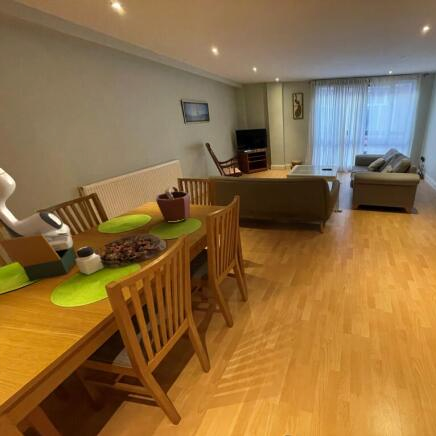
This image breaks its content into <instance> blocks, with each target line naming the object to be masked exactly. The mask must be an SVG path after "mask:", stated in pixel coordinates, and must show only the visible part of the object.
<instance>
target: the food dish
mask: <svg viewBox="0 0 436 436" xmlns="http://www.w3.org/2000/svg"><path fill="white" fill-rule="evenodd" d="M103 247H105V249H104V251H103V252H102V253H101V254H99V252H100V250H102V249H103V248H102V247H101V246H100V247H98V248H99V249H98V248H97V249H96V250H94V253H95V254H96V255H99V256H100V258H101V261H100V262H102V264H103V267H104V268H109V267H110V268H119V267H126V266H130V265H132V264H134V263H141V262H144V261H146V260H150V259H152V258H155V257H156V256H158V254H159V253H161V252H163V251H164V250H165V249H166V248H167V243H166V241H165V240H164V239H163V238H161V237H160V236H159V235H156V234H152V233H151V234H150V233H142V234H135V235H134V234H133V235H130V236H126V237H125V236H124V237H121V238H119V239H115V240H113V241H110V242H107V244H104V245H103Z"/></svg>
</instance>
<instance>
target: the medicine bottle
mask: <svg viewBox="0 0 436 436" xmlns="http://www.w3.org/2000/svg"><path fill="white" fill-rule="evenodd" d="M94 252H95V250H94V248H93V247H92V246H84V247H80V248H79V249H77V251H76V255H77V258H78V259H76V262H75V263H76V265H77V268H78V270H79V272H80V273H83V274H85V275H91V274H93V273H96V272H98V271H100V270H102V269H104V268H105V267H104V266H103V264H102V262H100V261H101V258H100V256H99V255H100V254H98V255H96V254H95V253H94Z"/></svg>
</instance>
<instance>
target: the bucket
mask: <svg viewBox="0 0 436 436" xmlns="http://www.w3.org/2000/svg"><path fill="white" fill-rule="evenodd" d="M172 189H173V191H171V190H172ZM155 200H156V204H157V207H158V209H159V211H160V213H161V215H162V217H163V219H164V221H165V223H168V224H169V223H170V224H178V223H177V222H175V223H174V222H168V221H177V220H182V219H186V218H187V217H188V218H187V219H186V221H187V220H188V219H189V218H190V216H191V215H190V214H191V193H189V192H187V191H183V190H182V191H181V190H180V191H179V188H178V187H177V186H175V185H170V186H168V187H166V189H165V190H164V193H160V194H157V195H156V197H155Z"/></svg>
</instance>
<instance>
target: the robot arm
mask: <svg viewBox="0 0 436 436" xmlns="http://www.w3.org/2000/svg"><path fill="white" fill-rule="evenodd" d="M16 187H17V185H16V181H15V180H14V179H13V178H12V176H11V175H10V174H8V173H7V172H6V171H5V170H4V169H3V168H1V167H0V224H1V225H2V226H3V227H4V228H5V229H6V231H7V233H8V234H9V236H10V237H11V238H18V237H25V236H32V235H39V234H43V236H44V237H45V238H46V240H47V241H48V242H49V244H50V245H51V246H52V248H53V249H54V250H55V251H58V250H64V249H69V248H71V247H72V246H73V245H74V241H73V238H72V236H71V229H70V227H69V226H68V225H67V224H66V223H63V222H62V220H61V219H60V218H59V217H58V216H57V214H54V213H53V212H50V211H45V210H42V211H38V212H36V213H34V214H32V215H31V216H28V217H26V218H24V219H22V220H19V219H17V218H16V217H15V216H14V214H13V213H12V212H11V211H10V210H9V208H7V206H6V202H7V200H8V199H9V198H10V196H12V195H13V193H14V192H15V190H16Z"/></svg>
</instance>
